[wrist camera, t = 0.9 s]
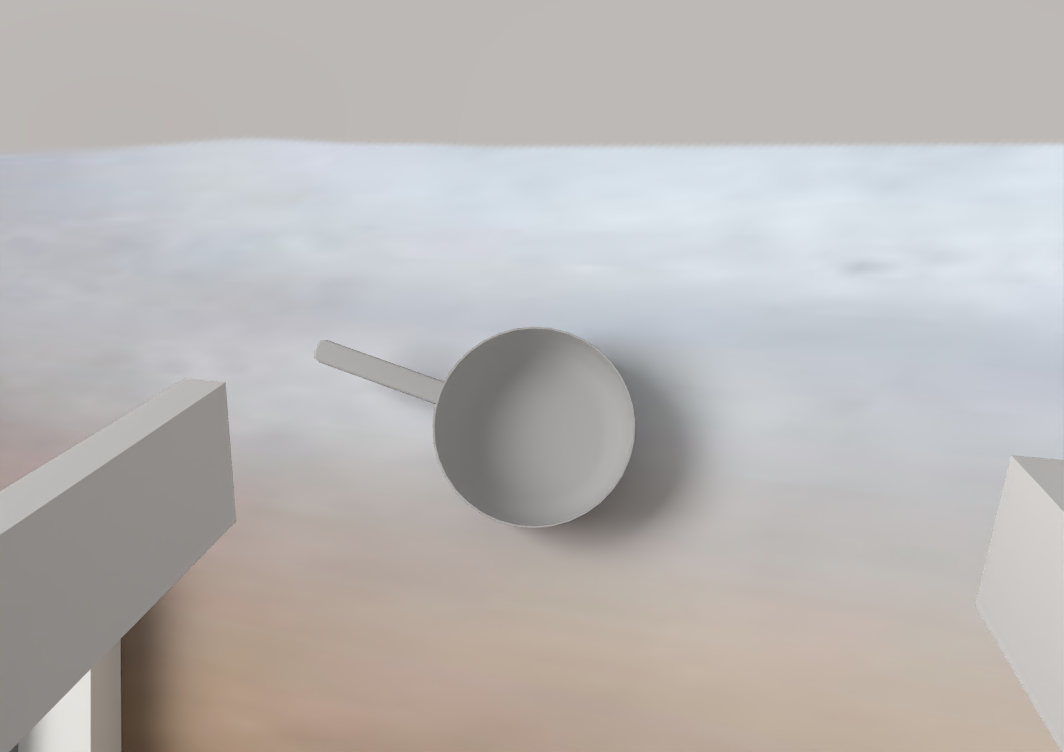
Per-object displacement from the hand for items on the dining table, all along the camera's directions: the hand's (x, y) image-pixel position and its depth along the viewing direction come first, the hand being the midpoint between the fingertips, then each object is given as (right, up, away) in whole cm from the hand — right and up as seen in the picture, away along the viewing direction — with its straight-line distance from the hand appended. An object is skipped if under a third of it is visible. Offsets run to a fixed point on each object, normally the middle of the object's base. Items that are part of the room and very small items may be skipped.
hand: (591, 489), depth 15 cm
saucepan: (-4, 0, +35) cm, 35 cm away
